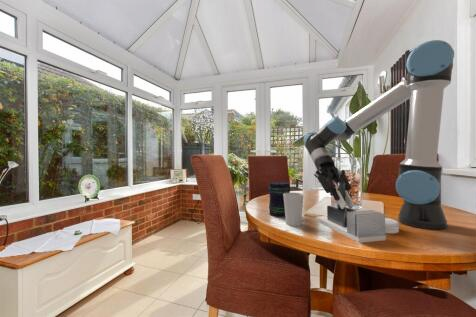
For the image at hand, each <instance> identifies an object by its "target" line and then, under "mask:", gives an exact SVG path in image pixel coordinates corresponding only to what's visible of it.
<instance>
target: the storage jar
mask: <svg viewBox="0 0 476 317" xmlns="http://www.w3.org/2000/svg"><path fill="white" fill-rule="evenodd" d="M290 185H291V183H290V182H289V181H269V182H268V195H269V203H268V205H269V206H268V211H269V213H268V214H269V216H271V217H275V218H285V206H284V196H283V194H284V193H291V187H290Z"/></svg>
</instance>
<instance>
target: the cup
mask: <svg viewBox="0 0 476 317" xmlns="http://www.w3.org/2000/svg"><path fill="white" fill-rule="evenodd" d="M283 196H284V206H285V217H284V218H285V225H287V226H290V227H300V226H302V225H303V222H302V220H303V206H304V205H303V204H304V194H303V193H300V192H290V193H284V194H283Z"/></svg>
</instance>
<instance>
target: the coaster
mask: <svg viewBox="0 0 476 317" xmlns="http://www.w3.org/2000/svg"><path fill="white" fill-rule="evenodd" d="M399 232H400V222H399V221H398V220H396V219H392V218H388V217H385V234H389V235H390V234H399Z"/></svg>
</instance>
